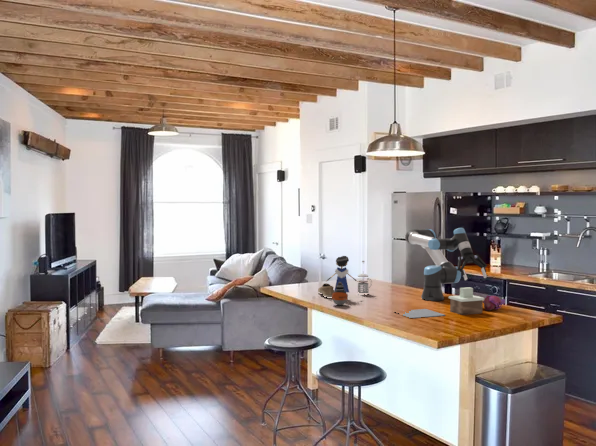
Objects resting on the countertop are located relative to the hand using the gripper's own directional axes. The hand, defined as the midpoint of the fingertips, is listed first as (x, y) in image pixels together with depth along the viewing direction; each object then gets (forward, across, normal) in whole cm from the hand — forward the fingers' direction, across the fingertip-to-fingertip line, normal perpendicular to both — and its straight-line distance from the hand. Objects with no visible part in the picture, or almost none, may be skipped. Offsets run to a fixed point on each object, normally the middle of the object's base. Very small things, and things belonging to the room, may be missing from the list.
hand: (476, 278), depth 333 cm
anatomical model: (+22, +2, -2) cm, 23 cm away
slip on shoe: (-21, -88, +55) cm, 105 cm away
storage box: (+24, -18, -8) cm, 31 cm away
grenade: (0, -88, +20) cm, 90 cm away
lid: (+17, -17, -12) cm, 27 cm away
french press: (-18, -60, +54) cm, 82 cm away
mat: (+21, -49, -9) cm, 54 cm away
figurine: (-12, -80, +41) cm, 91 cm away
